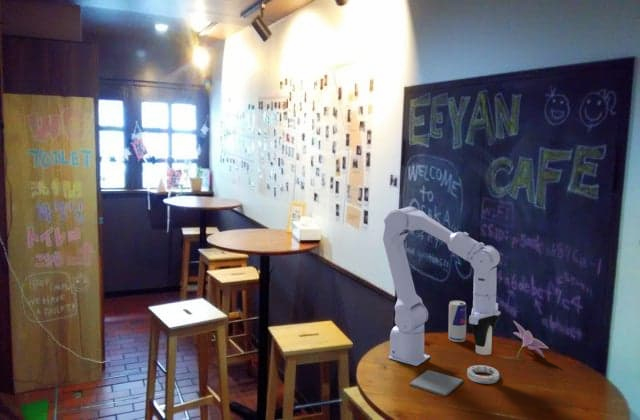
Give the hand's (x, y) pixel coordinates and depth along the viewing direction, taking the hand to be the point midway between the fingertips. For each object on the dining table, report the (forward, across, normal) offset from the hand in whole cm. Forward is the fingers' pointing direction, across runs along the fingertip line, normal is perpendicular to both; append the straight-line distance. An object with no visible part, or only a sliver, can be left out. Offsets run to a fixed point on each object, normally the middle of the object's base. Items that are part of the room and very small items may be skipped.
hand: (483, 343), depth 138 cm
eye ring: (+9, 0, 0) cm, 9 cm away
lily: (+10, +21, -5) cm, 24 cm away
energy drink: (+10, +21, +17) cm, 29 cm away
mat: (+9, -11, +8) cm, 17 cm away
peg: (+2, 0, 0) cm, 2 cm away
